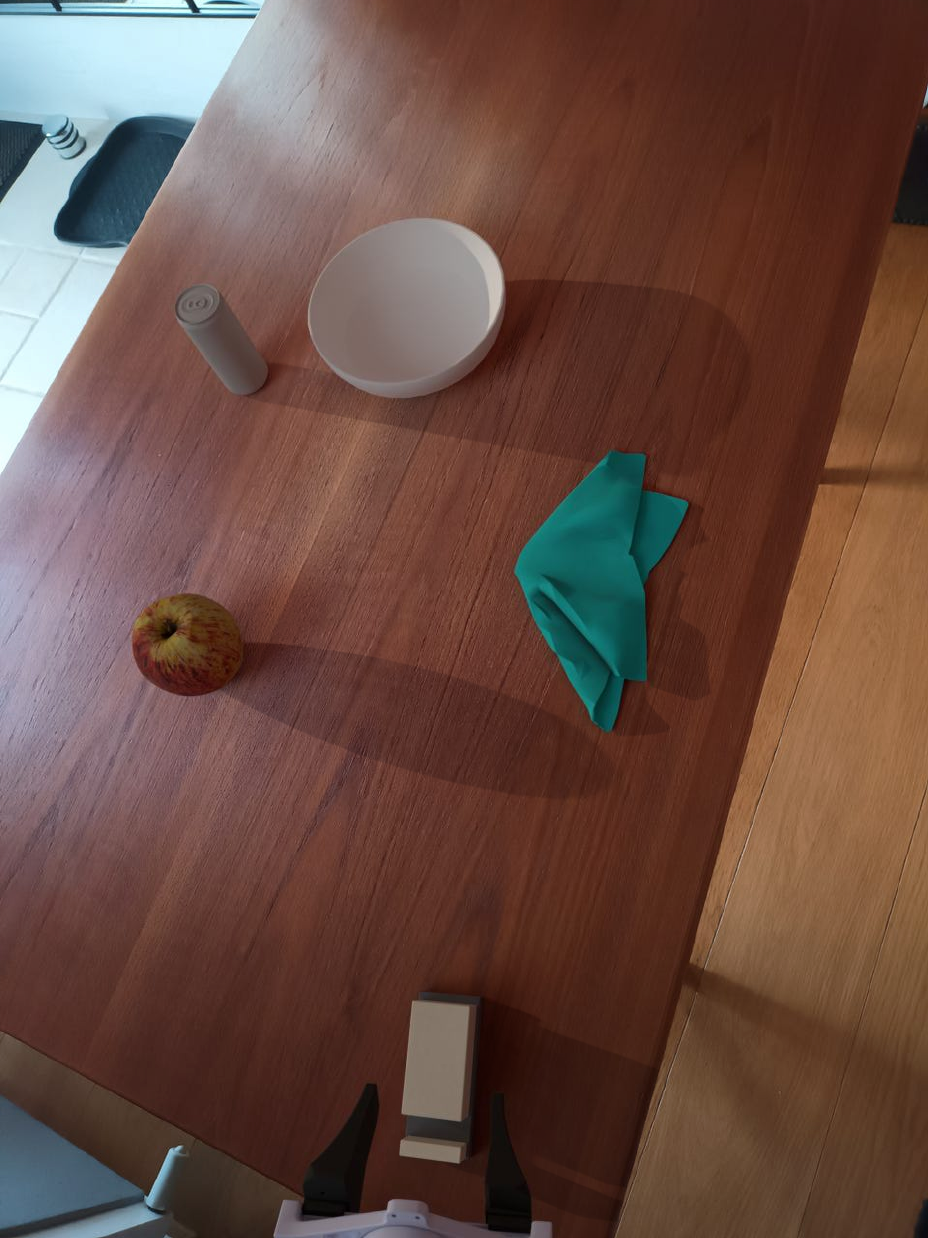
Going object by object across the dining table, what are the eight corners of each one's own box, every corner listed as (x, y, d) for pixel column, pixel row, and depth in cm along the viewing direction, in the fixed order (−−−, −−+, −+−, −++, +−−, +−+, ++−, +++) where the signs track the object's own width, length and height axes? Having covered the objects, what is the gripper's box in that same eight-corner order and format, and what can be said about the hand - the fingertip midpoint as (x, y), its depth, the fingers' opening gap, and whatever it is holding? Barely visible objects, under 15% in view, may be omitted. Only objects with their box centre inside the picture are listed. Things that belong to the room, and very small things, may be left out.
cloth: (558, 439, 90) (555, 426, 88) (704, 465, 86) (705, 452, 84) (474, 697, 82) (469, 690, 80) (630, 739, 78) (630, 732, 76)
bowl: (530, 393, 92) (521, 355, 86) (337, 441, 94) (316, 406, 89) (497, 239, 99) (487, 195, 94) (319, 287, 102) (299, 246, 96)
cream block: (471, 1157, 70) (460, 1167, 66) (408, 1149, 71) (394, 1158, 67) (482, 997, 74) (473, 997, 70) (422, 991, 75) (410, 991, 71)
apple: (151, 689, 89) (92, 655, 79) (197, 604, 91) (145, 561, 82) (232, 724, 86) (180, 693, 77) (277, 635, 88) (232, 594, 79)
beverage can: (267, 395, 98) (217, 321, 87) (223, 400, 99) (169, 327, 88) (272, 356, 100) (223, 278, 89) (228, 361, 101) (175, 284, 90)
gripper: (548, 1324, 43) (555, 1061, 55) (237, 1294, 45) (310, 1046, 57) (548, 1404, 46) (555, 1139, 58) (259, 1373, 48) (323, 1122, 60)
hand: (435, 1098), depth 58 cm, fingers open, 7 cm apart
